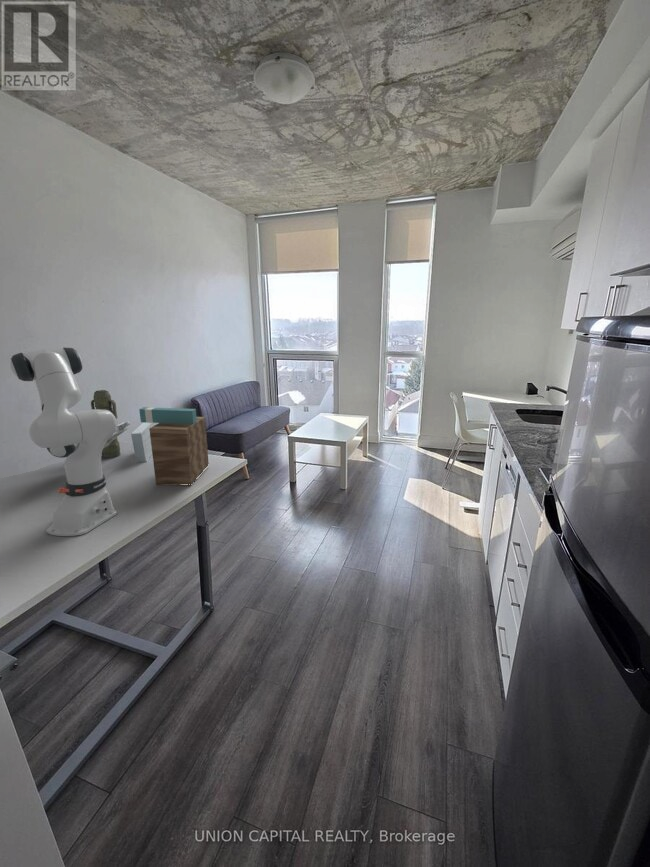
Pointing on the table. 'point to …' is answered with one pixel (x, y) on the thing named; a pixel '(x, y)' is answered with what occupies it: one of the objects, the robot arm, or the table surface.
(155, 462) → the brown wooden box
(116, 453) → the thermos
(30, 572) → the table surface
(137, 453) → the skincare box
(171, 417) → the teal rectangular bar
